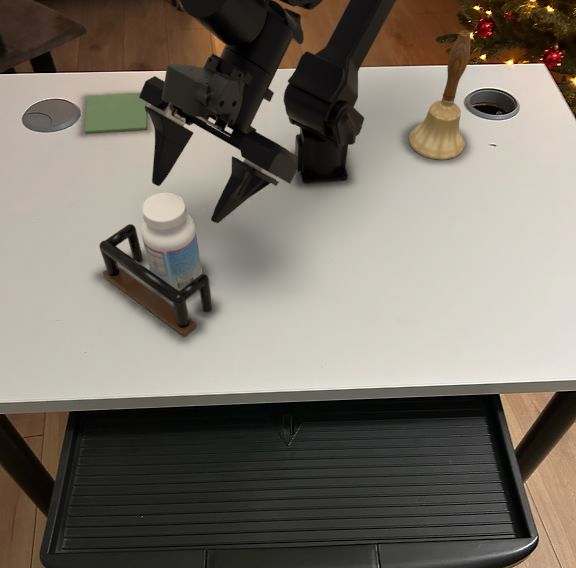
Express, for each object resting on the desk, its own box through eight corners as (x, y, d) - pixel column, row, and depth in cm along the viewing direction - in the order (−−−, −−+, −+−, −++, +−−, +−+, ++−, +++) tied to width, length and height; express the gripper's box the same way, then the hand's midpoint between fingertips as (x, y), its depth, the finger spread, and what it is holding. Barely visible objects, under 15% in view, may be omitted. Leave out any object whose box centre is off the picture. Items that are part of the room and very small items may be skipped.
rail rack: (136, 253, 76) (127, 218, 72) (216, 309, 72) (213, 276, 67) (103, 277, 74) (91, 242, 69) (184, 337, 69) (177, 304, 65)
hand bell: (475, 152, 89) (511, 42, 76) (425, 165, 87) (453, 54, 74) (446, 120, 93) (475, 10, 80) (398, 132, 91) (420, 21, 78)
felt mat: (146, 94, 95) (146, 92, 95) (146, 129, 90) (146, 127, 90) (88, 98, 94) (87, 95, 94) (85, 133, 89) (84, 131, 89)
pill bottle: (203, 260, 76) (194, 187, 66) (201, 297, 73) (191, 225, 63) (155, 260, 76) (138, 187, 66) (150, 298, 72) (132, 226, 63)
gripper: (135, -7, 58) (75, 146, 63) (282, 65, 52) (203, 229, 57) (201, 44, 68) (144, 173, 73) (330, 110, 62) (260, 247, 67)
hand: (184, 202), depth 67 cm, fingers open, 9 cm apart
